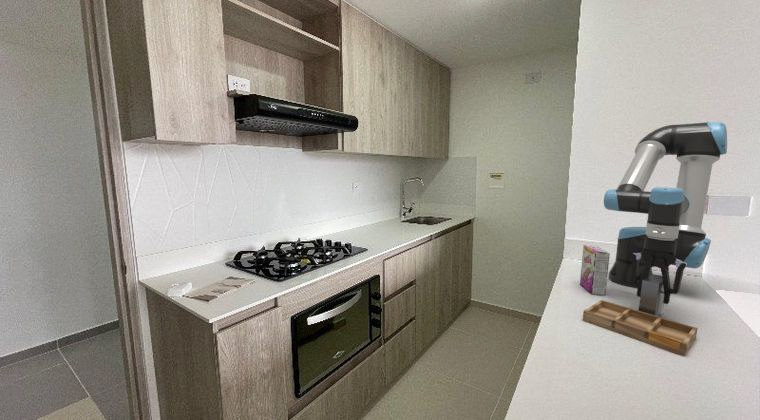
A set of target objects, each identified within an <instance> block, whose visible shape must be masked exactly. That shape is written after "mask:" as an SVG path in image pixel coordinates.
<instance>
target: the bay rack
mask: <svg viewBox="0 0 760 420" xmlns="http://www.w3.org/2000/svg"><path fill="white" fill-rule="evenodd" d="M582 314H583V315H582V321H583V322H586V323H589V324H591V325H595V326H597V327H600V328H603V329H606V330H609V331H612V332H613V333H614V332H615V333H617V334H619V335H623V336H626V337H629V338H632V339H634V340H638V341H640V342H644V343H646V344H648V345H651V346H655V347H657V348H660V349H663V350H665V351H668V352H671V353H674V354H678V355H680V356H683V357H685V356H686V355H687V353H688V351H689V350H690V348H691V347H692V345H693V343H694V342H695V341H696V338H697V333H698V327H695V326H692V325H689V324H687V323H686V324H684V323H682V322H678V321H675V320H671V319H668V318H664V317H662V316H659V317H658V316H655V315H651V314H648V313H645V312H641V311H639V309H638V310H637V309H634V308H630V307H627V306H624V305H620V304H618V303H615V302H610V301H607V300H604V299H601V300H599V301H597V302H596V303H594V304H593V305H591V306H589V307H588V308H586V309H585V310H583V313H582Z"/></svg>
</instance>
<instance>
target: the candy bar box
mask: <svg viewBox="0 0 760 420" xmlns="http://www.w3.org/2000/svg"><path fill="white" fill-rule="evenodd" d="M610 255H611V253H610V252H609V251H607V250H605V249H602V248H601V247H599V246H598V245H590V244H589V245H588V244H583V247H582V256H581V257H582V258H581V266H580V267H581V268H580V277H579V279H580V280H579V284H580V285H581V286H582V287H583V288H584V289H585V290H586V291H587V292H589V294H590V295H595V296H606V290H607V282H608V275H609V272H608V271H609V263H610Z"/></svg>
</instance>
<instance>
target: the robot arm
mask: <svg viewBox="0 0 760 420" xmlns="http://www.w3.org/2000/svg"><path fill="white" fill-rule="evenodd" d="M727 153H728V131H727V126H726V124H725V123H724V122H722V121H715V122H714V121H711V122H709V121H706V122H697V123H682V124H681V123H680V124H669V125H665V126H661V127H659V128H656V129H654V130H653V131H650V132H649V133H648V134H646V135H645V136H644V137H643V138H642V139H641V140H640V141H639V142H638V143H637V145H636V147H635V149H634V154H635V155H634V157H633V158H632V160H631V162H630V164H629V166H628V167H627V170H626V171H625V172H624V175H623V177H622V178H621V180H620V183H619V184H618V187H617V188H614V189H608V190H606V191H605V193H604V197H603V207H604V208H605V209H606V210H607V211H615V212H626V213H637V214H645V215H647V219H646V221H647V222H646V225H645V226H627V227H622V228H621V229H619V231H618V236H617V243H616V254H615V261H614V263H613V265H612V267H611V268H610V270H609V272H608V275H607V279H609V280H610V281H611V282H613V283H615V284H618V285H622V286H627V287H631V288H637V290H636V297H638V298H640V296H641V288H642V280H643V279H645V278H646V277H648V276H649V275H651V274H654V273H653V270H652V269H653V268H658V269H660V272H661V276H662V279H663V287H664V291H663V292H662V293H661V296H660V303H659V310H658V313H659V314H661V315H663V313H664V311H665V305H668V304H669V303H670V298H671V295H677V294H678V293H679V292H680V291H681V285H682V280H683V277H684V276H683V274H684V272H685V271H684V270H685V269H686V268H688V269H699V268H700V267H701V266H702V265H703V264H704V261H705V259H706V258H707V254H709V253H708V252H709V249H710V245H711V243H712V242H711V241H712V240H711V239H710V238H708V237H706V236H707V233H706V232H705V231H704V230H703V229H702V225H703V219H704V213H705V208H706V204H707V202H706V201H707V197H708V193H709V186H710V181H711V174H712V168H713V164H715V163H716V162H718V161H720V158H721V155H726V154H727ZM664 156H676V157H675V159H676V161H678V162H679V164H680V166H679V170H678V177H677V183H676V187H664V186H663V187H659V186H658V187H652V189H651V191H645V190H646V187H647V185H648V183H649V181H650V179H651V177H652V175H653V173H654V171H655V169H656V167H657V164H658V163H659V161H660V160H662V159H663V158H664ZM670 266H675V267H676V271H675V274H674V281H673V286H672V287H671V285H672V284H671V280H670V268H669V267H670Z"/></svg>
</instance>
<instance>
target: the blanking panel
mask: <svg viewBox="0 0 760 420" xmlns="http://www.w3.org/2000/svg"><path fill="white" fill-rule="evenodd" d="M663 291H664V287H663V279H662V275H660V274H654V273H653V274H651V275H649V276H648V277H646V278H645V279H643V280H642V288H641V296H640V297H639V304H638V311H641V312H645V313H648V314H651V315H655V316H658V317H661V315H662V314H659V313H658V310H659V303H660V296H661V293H662V292H663Z"/></svg>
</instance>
